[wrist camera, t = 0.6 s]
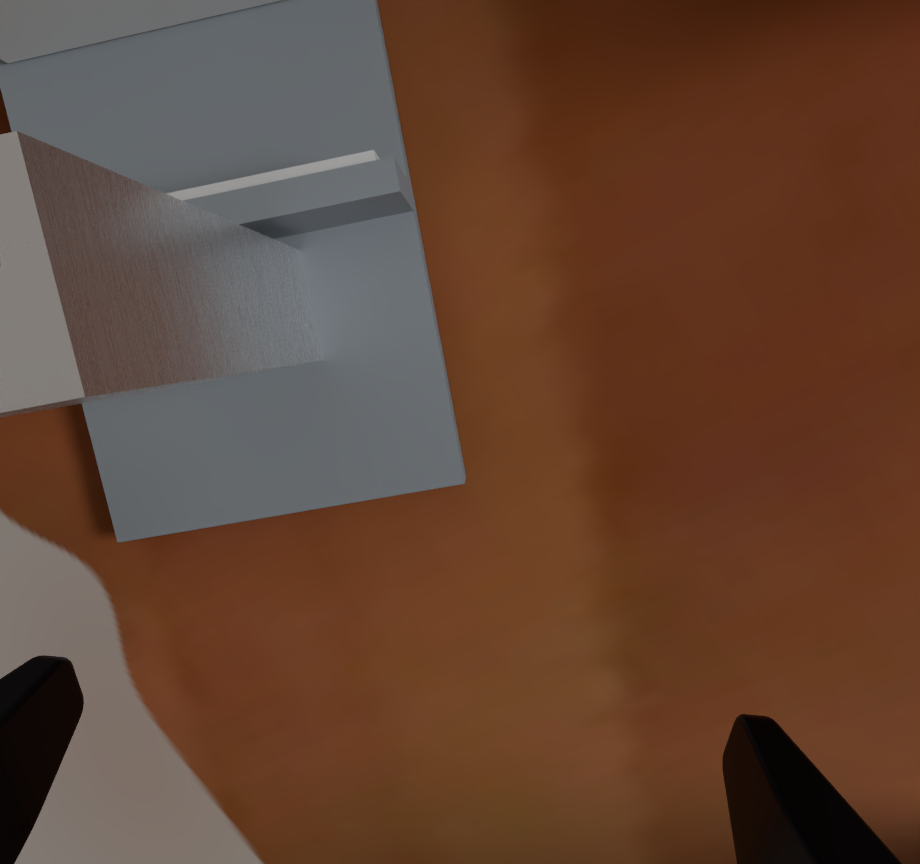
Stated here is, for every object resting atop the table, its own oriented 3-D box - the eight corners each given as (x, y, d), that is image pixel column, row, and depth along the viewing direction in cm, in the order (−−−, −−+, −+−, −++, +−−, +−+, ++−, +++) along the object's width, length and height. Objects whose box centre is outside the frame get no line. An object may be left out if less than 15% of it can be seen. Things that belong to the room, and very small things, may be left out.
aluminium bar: (323, 360, 22) (85, 396, 9) (190, 385, 23) (-216, 454, 10) (300, 250, 22) (16, 131, 9) (164, 277, 22) (-297, 200, 9)
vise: (466, 477, 24) (458, 510, 19) (132, 534, 24) (51, 578, 20) (360, -90, 21) (323, -203, 17) (-4, -3, 22) (-130, -88, 18)
